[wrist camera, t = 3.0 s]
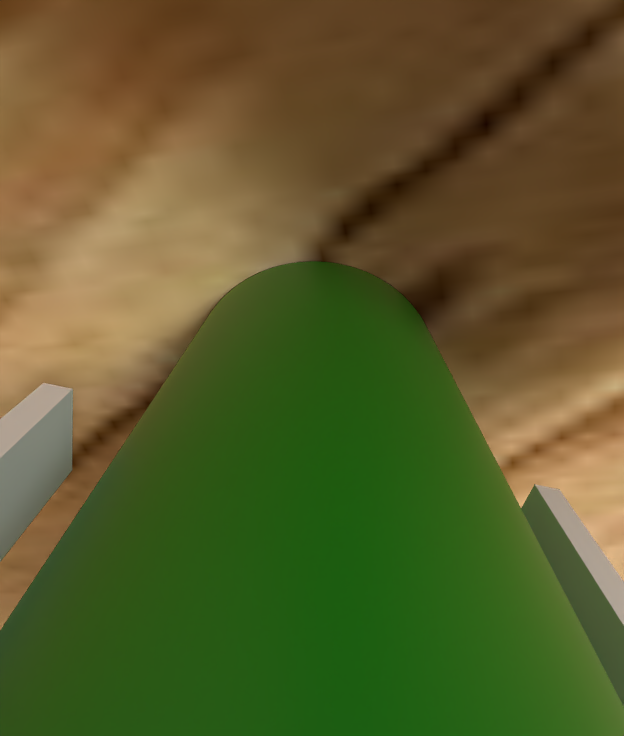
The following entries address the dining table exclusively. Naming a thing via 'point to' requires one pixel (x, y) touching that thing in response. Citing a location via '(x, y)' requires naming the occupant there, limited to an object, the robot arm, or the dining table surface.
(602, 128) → the dining table surface
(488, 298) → the dining table surface
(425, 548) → the motor
